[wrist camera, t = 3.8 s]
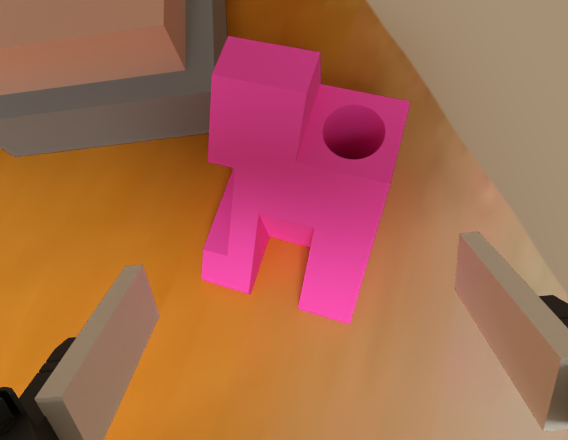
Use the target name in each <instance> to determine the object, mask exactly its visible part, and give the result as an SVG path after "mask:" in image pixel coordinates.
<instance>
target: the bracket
mask: <svg viewBox="0 0 568 440" xmlns="http://www.w3.org/2000/svg"><path fill="white" fill-rule="evenodd" d="M409 106H410V101H405V100H400V99H395V98H390V97H385V96H379V95H374V94H369V93H364V92H359V91H354V90H348V89H343V88H338V87H333V86H328V85H322V84H321V60H320V52H316V51H310V50H305V49H299V48H294V47H288V46H282V45H277V44H271V43H265V42H260V41H254V40H249V39H243V38H237V37H232V36H228V37H227V40H226V42H225V44H224V47H223V49H222V52H221V54H220V56H219V59H218V61H217V64H216V66H215V68H214V71H213V73H212V81H211V101H210V122H209V142H208V162H210V163H214V164H218V165H222V166H226V167H230V168H233V170H232V173H231V176H230V178H229V181H228V184H227V186H226V189H225V192H224V195H223V197H222V200H221V203H220V205H219V208H218V211H217V213H216V216H215V219H214V221H213V224H212V227H211V229H210V232H209V235H208V238H207V240H206V243H205V246H204V248H203V262H202V279H203V280H204V281H207V282H210V283H214V284H217V285H220V286H224V287H227V288H230V289H234V290H237V291H240V292H243V293H247V294H250V295H251V292H252V289H253V286H254V283H255V280H256V277H257V274H258V271H259V268H260V264H261V261H262V258H263V255H264V252H265V249H266V246H267V243H268V240H269V237H273V238H277V239H280V240H284V241H288V242H292V243H295V244H299V245H303V246H306V247H310V252H309V257H308V262H307V267H306V271H305V276H304V281H303V286H302V291H301V296H300V301H299V306H298V309H300V310H303V311H306V312H310V313H313V314H316V315H320V316H323V317H326V318H330V319H333V320H336V321H339V322H343V323H346V324H350V321H351V318H352V314H353V311H354V308H355V304H356V301H357V297H358V294H359V290H360V287H361V284H362V280H363V277H364V273H365V270H366V266H367V263H368V260H369V256H370V253H371V249H372V246H373V242H374V239H375V236H376V232H377V229H378V225H379V222H380V218H381V215H382V212H383V208H384V205H385V201H386V198H387V194H388V191H389V188H390V184H391V180H392V176H393V172H394V168H395V164H396V159H397V155H398V151H399V147H400V143H401V139H402V135H403V131H404V127H405V123H406V118H407V114H408V110H409Z"/></svg>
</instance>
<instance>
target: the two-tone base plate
mask: <svg viewBox="0 0 568 440" xmlns="http://www.w3.org/2000/svg"><path fill="white" fill-rule="evenodd" d="M226 40H227V21H226V0H0V148H1V149H3V150H5V151H6V152H8V153H9V154H11V155H13V156H14V157H20V156H28V155H36V154H44V153H52V152H60V151H69V150H77V149H85V148H93V147H101V146H109V145H117V144H125V143H133V142H141V141H150V140H158V139H166V138H174V137H182V136H190V135H198V134H206V133H209V122H210V101H211V81H212V73H213V71H214V68H215V66H216V64H217V61H218V59H219V56H220V54H221V52H222V49H223V47H224V44H225V42H226Z"/></svg>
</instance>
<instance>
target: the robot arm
mask: <svg viewBox="0 0 568 440" xmlns="http://www.w3.org/2000/svg"><path fill="white" fill-rule="evenodd" d="M455 291H456V292H457V294H458V295H459V297H460V299H461V300H462V302H463V303H464V305H465V307H466V308H467V310H468V311H469V313H470V315H471V316H472V318H473V319H474V321H475V323H476V324H477V326H478V327H479V329H480V331H481V332H482V334H483V335H484V337H485V339H486V340H487V342H488V343H489V345H490V347H491V348H492V350H493V351H494V353H495V355H496V356H497V358H498V359H499V361H500V363H501V364H502V366H503V367H504V369H505V371H506V372H507V374H508V375H509V377H510V379H511V380H512V382H513V383H514V385H515V387H516V388H517V390H518V391H519V393H520V395H521V396H522V398H523V400H524V401H525V403H526V404H527V406H528V408H529V409H530V411H531V412H532V414H533V416H534V417H535V419H536V420H537V422H538V424H539V425H540V427H541V428H542V430H543V431H551V430H567V429H568V303H566V302H564V301H562V300H561V299H559V298H557V297H555V296H554V295H548V296H538V295H537V294H536V293H535V292H534V291H533V290H532V289H531V288H530V287H529V286H528V284H527V283H526V282H525V281H524V280H523V279H522V278H521V277H520V276H519V275H518V274H517V272H516V271H515V270H514V269H513V268H512V267H511V266H510V265H509V264H508V263H507V262H506V260H505V259H504V258H503V257H502V256H501V255H500V254H499V253H498V252H497V251H496V250H495V248H494V247H493V246H492V245H491V244H490V243H489V242H488V241H487V240H486V239H485V238H484V236H483V235H482V234H481V233H480V232H470V233H459V245H458V257H457V269H456V281H455ZM159 316H160V315H159V312H158V309H157V306H156V303H155V300H154V297H153V294H152V291H151V288H150V285H149V282H148V279H147V276H146V273H145V270H144V267H143V265H133V266H125V267H124V269H123V270H122V272H121V273H120V275H119V276H118V278H117V279H116V281H115V282H114V283H113V285H112V286H111V288H110V289H109V291H108V292H107V294H106V295H105V297H104V298H103V299H102V301H101V302H100V304H99V305H98V307H97V308H96V310H95V311H94V313H93V314H92V316H91V317H90V318H89V320H88V321H87V323H86V324H85V326H84V327H83V329H82V330H81V332H80V333H79V334H78V336H77V337H73V338H68V339H66V340H65V341H64V342H63V343H62V344H60V345H59V346H58V347H57V348H56V349H55V350H54V351H53V352H52V354H51V355H50V357H49V358H48V359H47V361H46V363H44V365H43V366H42V367H41V369H40V370H39V373H37V374H36V376H35V377H34V378H33V380H32V381H31V383H30V384H29V385H28V387H27V388H26V389H25V391H24V392H23V394H22V395H21V396H20V398H19V399H18V397H17V395H16V394H15V392H14V391H13V389H12V388H8V387H1V388H0V440H104V438H105V436H106V433H107V431H108V429H109V427H110V425H111V422H112V420H113V418H114V416H115V414H116V411H117V409H118V407H119V405H120V402H121V400H122V398H123V396H124V394H125V391H126V389H127V387H128V385H129V382H130V380H131V378H132V376H133V374H134V371H135V369H136V367H137V365H138V363H139V360H140V358H141V356H142V354H143V351H144V349H145V347H146V345H147V343H148V340H149V338H150V336H151V334H152V331H153V329H154V327H155V325H156V323H157V320H158V318H159Z"/></svg>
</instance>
